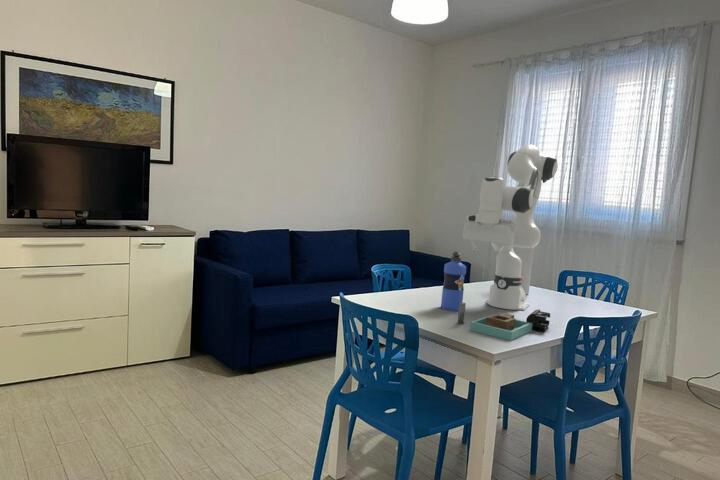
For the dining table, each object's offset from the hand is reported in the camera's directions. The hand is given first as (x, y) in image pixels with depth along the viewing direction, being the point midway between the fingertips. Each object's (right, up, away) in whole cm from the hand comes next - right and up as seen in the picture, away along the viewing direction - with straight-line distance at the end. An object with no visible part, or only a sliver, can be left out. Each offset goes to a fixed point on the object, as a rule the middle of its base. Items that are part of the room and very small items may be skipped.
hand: (486, 253), depth 205 cm
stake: (-11, -27, -2) cm, 29 cm away
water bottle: (-10, -25, +23) cm, 35 cm away
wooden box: (+4, -28, -7) cm, 30 cm away
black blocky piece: (+20, -30, -1) cm, 36 cm away
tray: (+4, -29, -8) cm, 30 cm away
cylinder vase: (+33, -23, +73) cm, 83 cm away
